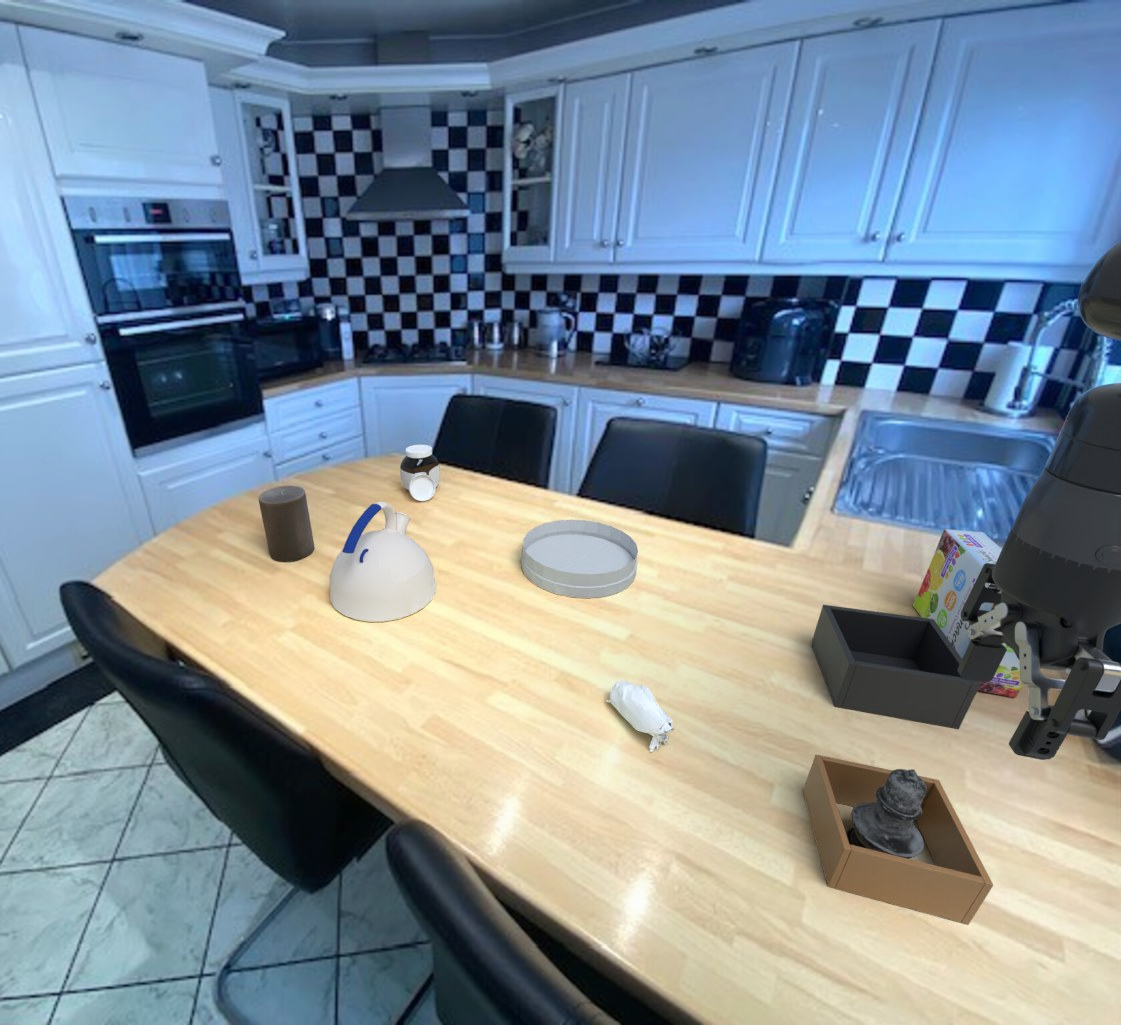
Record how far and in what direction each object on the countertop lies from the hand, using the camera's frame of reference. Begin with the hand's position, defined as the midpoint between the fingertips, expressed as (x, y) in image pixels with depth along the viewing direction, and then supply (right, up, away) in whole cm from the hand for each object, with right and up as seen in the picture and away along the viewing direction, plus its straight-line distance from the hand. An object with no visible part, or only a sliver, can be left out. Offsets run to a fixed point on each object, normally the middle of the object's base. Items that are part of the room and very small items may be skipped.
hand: (997, 712), depth 46 cm
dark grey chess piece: (0, -19, +12) cm, 23 cm away
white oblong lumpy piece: (-19, -12, +29) cm, 37 cm away
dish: (-18, +6, +65) cm, 68 cm away
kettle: (-56, +1, +61) cm, 83 cm away
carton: (0, -19, +12) cm, 22 cm away
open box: (+16, -8, +33) cm, 38 cm away
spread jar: (-50, +21, +101) cm, 115 cm away
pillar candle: (-78, +8, +76) cm, 109 cm away
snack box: (+33, -4, +39) cm, 52 cm away
